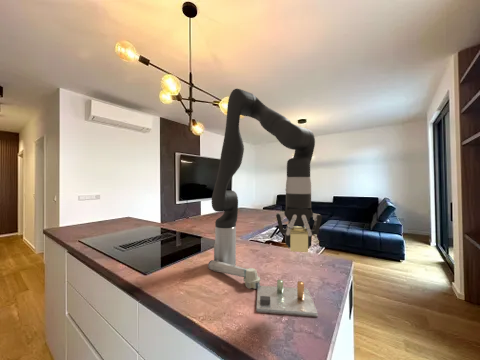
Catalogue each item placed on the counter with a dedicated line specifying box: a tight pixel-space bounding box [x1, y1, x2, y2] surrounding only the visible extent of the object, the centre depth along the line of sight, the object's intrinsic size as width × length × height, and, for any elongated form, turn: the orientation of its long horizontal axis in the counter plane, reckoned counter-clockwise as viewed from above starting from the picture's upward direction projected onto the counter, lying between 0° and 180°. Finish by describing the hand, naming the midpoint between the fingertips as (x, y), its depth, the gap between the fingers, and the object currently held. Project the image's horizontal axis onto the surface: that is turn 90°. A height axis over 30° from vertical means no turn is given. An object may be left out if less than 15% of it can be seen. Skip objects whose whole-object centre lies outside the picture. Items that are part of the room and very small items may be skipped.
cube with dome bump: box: [289, 225, 309, 253], centre depth 63 cm, size 5×5×7 cm
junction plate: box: [256, 279, 319, 318], centre depth 65 cm, size 17×13×6 cm
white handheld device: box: [207, 259, 261, 290], centre depth 80 cm, size 5×7×25 cm
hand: (298, 247), depth 63 cm, fingers closed on cube with dome bump, 5 cm apart
